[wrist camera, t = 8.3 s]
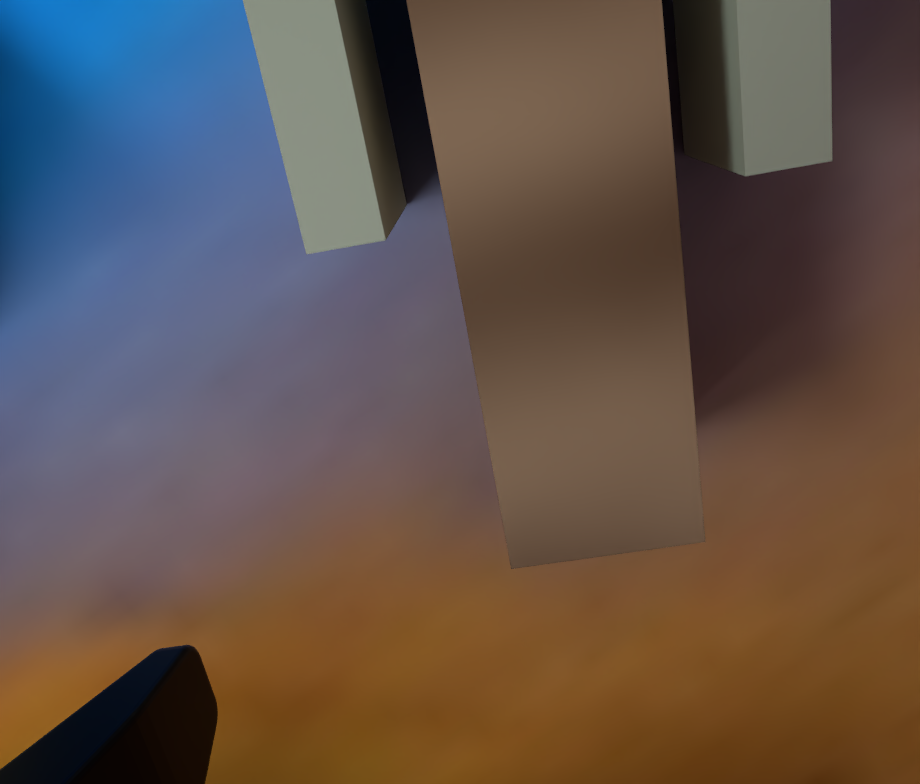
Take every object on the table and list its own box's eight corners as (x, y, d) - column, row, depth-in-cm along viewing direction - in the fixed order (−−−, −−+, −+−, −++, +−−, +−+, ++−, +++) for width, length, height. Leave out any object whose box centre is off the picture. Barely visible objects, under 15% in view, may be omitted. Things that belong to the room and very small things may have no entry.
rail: (655, 439, 21) (705, 542, 16) (504, 462, 21) (511, 568, 17) (603, -76, 17) (650, -138, 12) (415, -37, 17) (390, -82, 12)
